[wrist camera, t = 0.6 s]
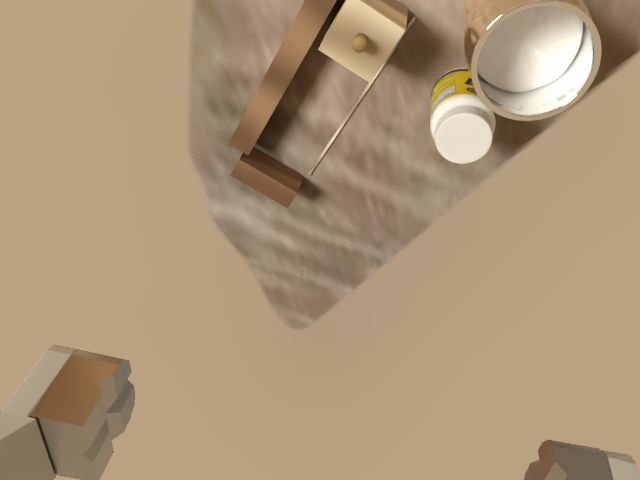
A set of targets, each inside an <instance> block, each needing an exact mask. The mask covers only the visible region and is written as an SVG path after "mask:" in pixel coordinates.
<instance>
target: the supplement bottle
mask: <svg viewBox="0 0 640 480" xmlns="http://www.w3.org/2000/svg"><path fill="white" fill-rule="evenodd" d="M495 125H496V119H495V112H493V111H492V110H490V109H489V108H488V107H487V106H486V105H485V104H484V103H483V102H482V101H481V100H480V98H479V97H478V95H477V93H476V91H475V89H474V87H473V83H472V79H471V76H470V73H469V71H468V68H455V69H452V70H450V71H448V72H446V73H444V74H443V75H442V76H441V77H440V78H439V79H438V80H437V81H436V83H435V85H434V87H433V89H432V94H431V118H430V128H431V133H432V136H433V138H434V140H435V143H436V147H437V149H438V151H439V153H440V154H441V155H442V156H443V157H444V158H445V159H447V160H449V161H451V162H454V163H460V164H465V163H471V162H474V161H476V160H478V159H480V158H481V157H483V156H484V155H485V154H486V153H487V151H488V150H489V148H490V146H491V144H492V140H493V133H494V131H495Z"/></svg>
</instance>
